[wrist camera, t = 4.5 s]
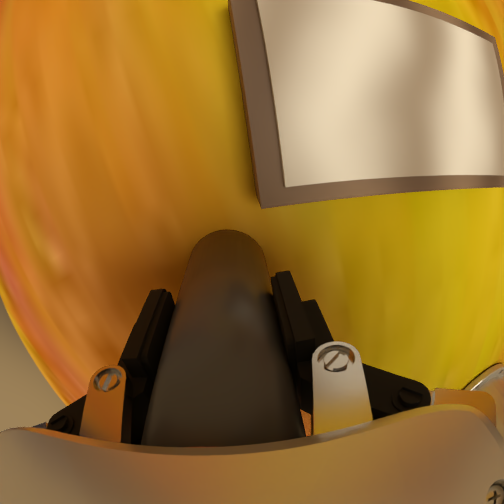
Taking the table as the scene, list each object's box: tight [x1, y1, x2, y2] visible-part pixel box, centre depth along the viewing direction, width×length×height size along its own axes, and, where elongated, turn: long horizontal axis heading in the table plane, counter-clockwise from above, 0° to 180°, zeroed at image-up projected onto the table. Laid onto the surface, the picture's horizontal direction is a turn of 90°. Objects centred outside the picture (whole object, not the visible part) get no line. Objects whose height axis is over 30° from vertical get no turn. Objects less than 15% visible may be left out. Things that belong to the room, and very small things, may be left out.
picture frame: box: [228, 0, 504, 209], centre depth 10 cm, size 16×10×3 cm, turn 98°
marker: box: [141, 230, 306, 447], centre depth 8 cm, size 4×4×14 cm
